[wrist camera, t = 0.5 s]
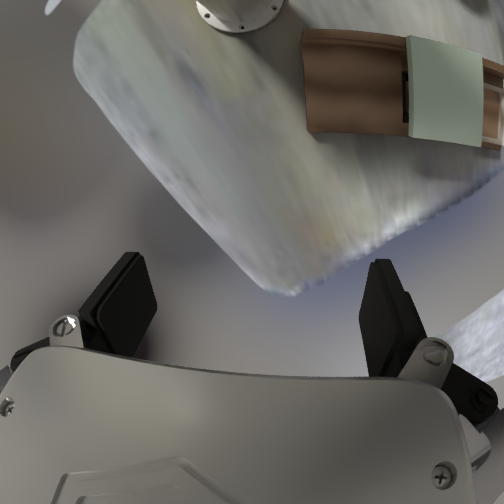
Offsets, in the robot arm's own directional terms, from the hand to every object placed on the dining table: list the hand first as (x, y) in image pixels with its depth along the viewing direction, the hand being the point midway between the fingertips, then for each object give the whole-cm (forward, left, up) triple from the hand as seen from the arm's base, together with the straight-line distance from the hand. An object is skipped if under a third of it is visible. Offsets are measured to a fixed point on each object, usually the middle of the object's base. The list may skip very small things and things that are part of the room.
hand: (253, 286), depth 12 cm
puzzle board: (-7, +21, -35) cm, 41 cm away
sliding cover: (-9, +22, -26) cm, 35 cm away
